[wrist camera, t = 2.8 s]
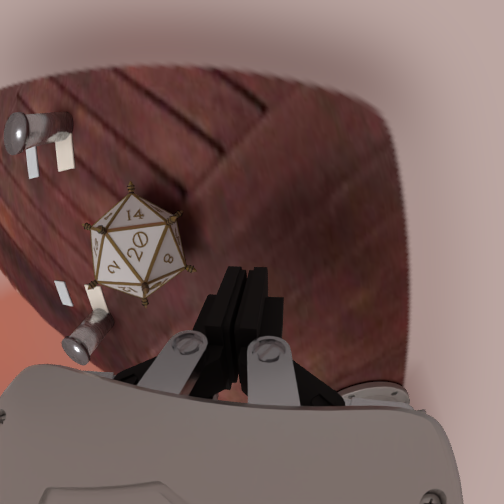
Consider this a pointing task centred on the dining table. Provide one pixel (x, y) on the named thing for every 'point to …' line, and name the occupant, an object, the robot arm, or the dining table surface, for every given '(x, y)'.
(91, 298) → the distance lines
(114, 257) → the game die
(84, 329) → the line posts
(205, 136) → the dining table surface
